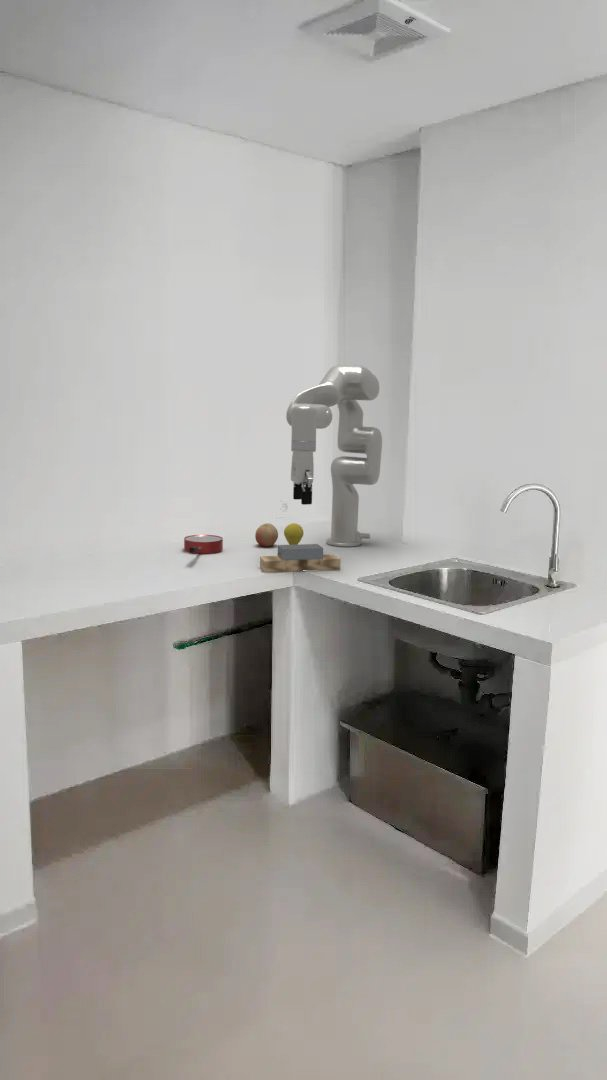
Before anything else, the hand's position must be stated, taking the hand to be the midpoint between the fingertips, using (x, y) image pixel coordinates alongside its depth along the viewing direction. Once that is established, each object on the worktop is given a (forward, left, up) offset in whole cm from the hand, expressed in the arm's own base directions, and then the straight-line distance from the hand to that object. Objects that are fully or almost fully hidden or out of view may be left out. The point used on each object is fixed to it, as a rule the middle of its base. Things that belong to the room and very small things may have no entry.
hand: (302, 501), depth 246 cm
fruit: (+4, -33, -21) cm, 39 cm away
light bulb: (-3, -22, -21) cm, 30 cm away
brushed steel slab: (+1, +2, -20) cm, 20 cm away
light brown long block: (+1, +2, -21) cm, 21 cm away
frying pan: (+28, -19, -21) cm, 40 cm away
